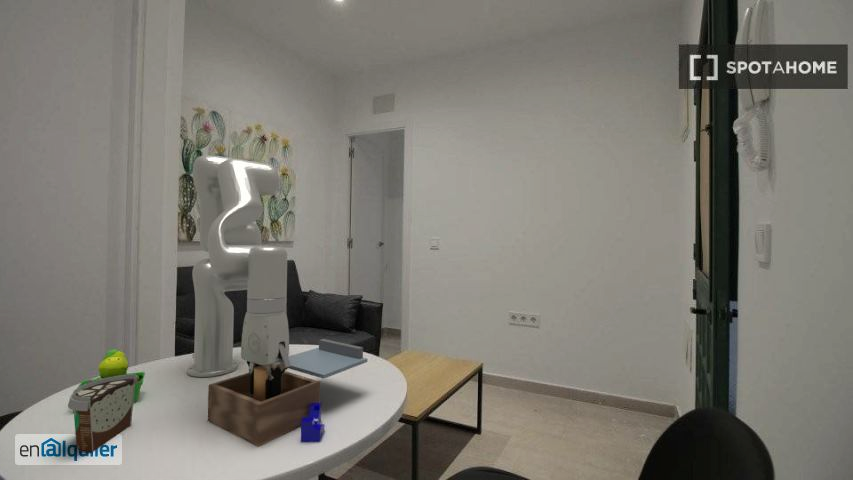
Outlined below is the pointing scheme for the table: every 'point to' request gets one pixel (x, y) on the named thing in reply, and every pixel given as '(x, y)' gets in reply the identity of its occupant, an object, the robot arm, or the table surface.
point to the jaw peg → (260, 382)
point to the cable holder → (312, 425)
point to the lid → (327, 359)
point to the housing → (261, 407)
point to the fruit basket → (116, 370)
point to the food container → (102, 410)
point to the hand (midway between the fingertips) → (265, 393)
